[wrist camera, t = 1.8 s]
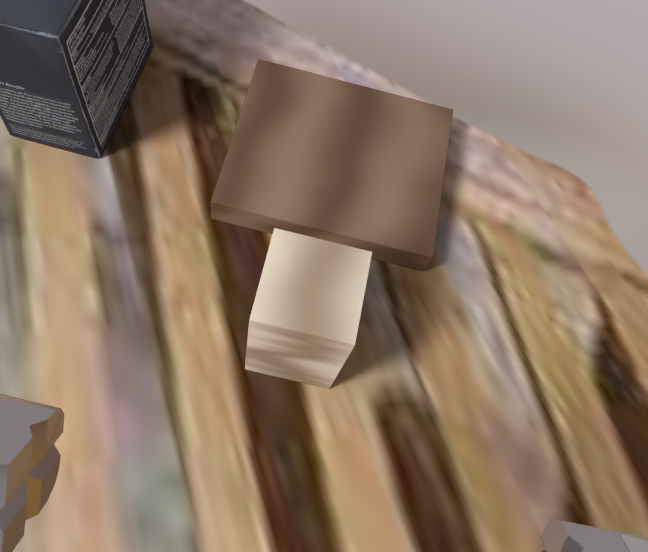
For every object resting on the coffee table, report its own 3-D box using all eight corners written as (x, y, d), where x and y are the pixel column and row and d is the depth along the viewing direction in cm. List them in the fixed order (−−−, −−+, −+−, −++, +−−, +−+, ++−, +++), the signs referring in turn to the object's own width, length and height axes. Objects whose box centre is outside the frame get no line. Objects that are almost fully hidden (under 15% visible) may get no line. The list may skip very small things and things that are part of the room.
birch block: (244, 369, 35) (249, 319, 28) (265, 291, 38) (274, 228, 30) (329, 389, 36) (354, 345, 28) (344, 311, 38) (372, 251, 31)
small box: (67, 22, 44) (24, -125, 35) (156, 46, 44) (137, -93, 35) (2, 135, 39) (-68, 2, 30) (102, 162, 40) (63, 37, 30)
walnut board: (211, 218, 39) (210, 202, 37) (257, 79, 44) (258, 59, 43) (423, 271, 40) (433, 257, 38) (444, 127, 45) (453, 109, 43)
